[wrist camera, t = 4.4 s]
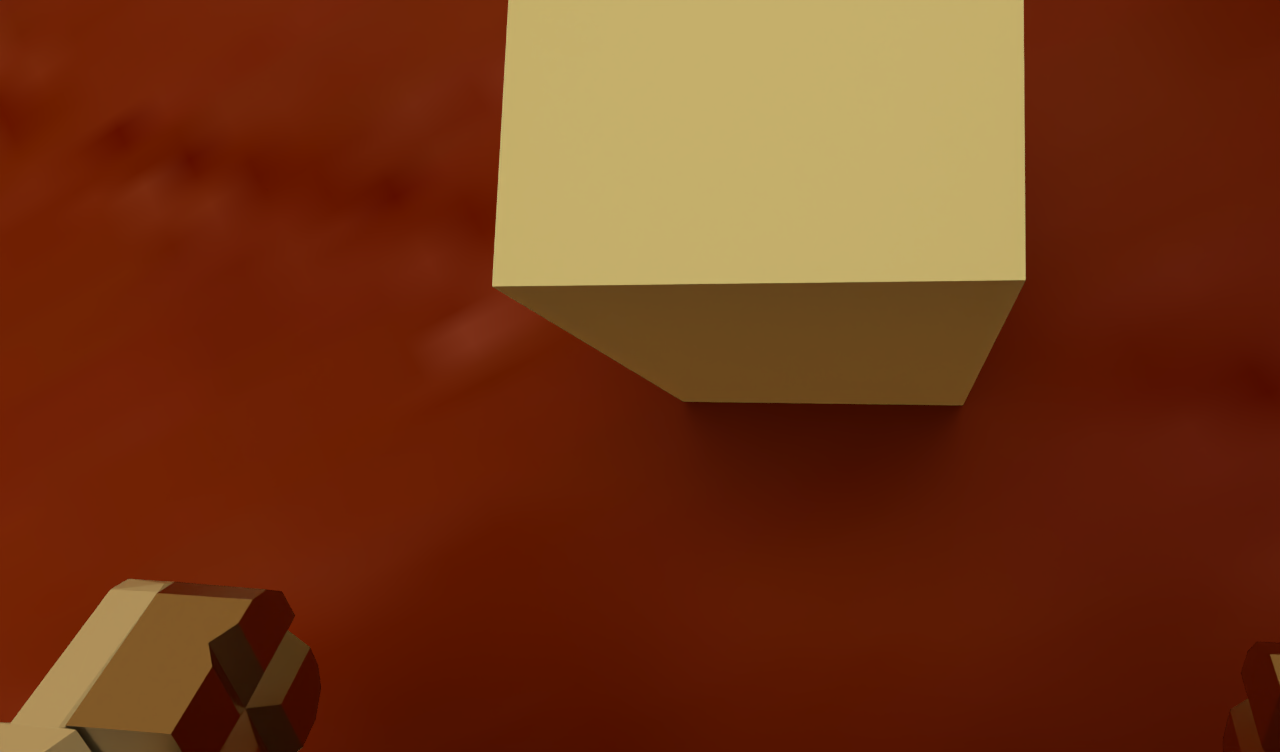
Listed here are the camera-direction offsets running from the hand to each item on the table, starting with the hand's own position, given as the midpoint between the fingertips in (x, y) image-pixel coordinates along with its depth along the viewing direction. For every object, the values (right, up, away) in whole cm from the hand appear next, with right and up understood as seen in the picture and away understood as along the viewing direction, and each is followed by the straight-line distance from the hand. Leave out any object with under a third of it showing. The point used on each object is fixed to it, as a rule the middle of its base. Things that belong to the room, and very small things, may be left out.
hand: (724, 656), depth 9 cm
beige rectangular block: (+3, +4, +11) cm, 12 cm away
